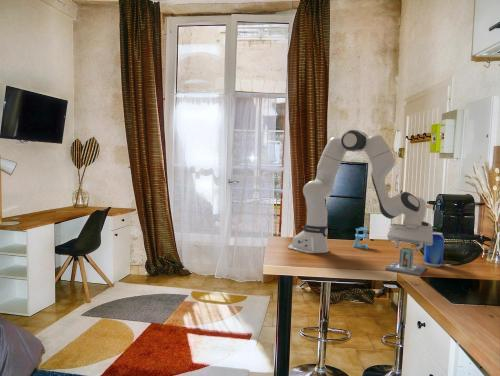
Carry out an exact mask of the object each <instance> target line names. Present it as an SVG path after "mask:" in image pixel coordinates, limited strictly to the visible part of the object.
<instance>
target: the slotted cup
mask: <svg viewBox="0 0 500 376" xmlns="http://www.w3.org/2000/svg"><path fill="white" fill-rule="evenodd" d="M399 250H400V251H399V261H398V262H399V267H402V268H408V269H411V268H412V267H413V264H414V254H415V253H414V252H415V251H414V250H415V249H414V248H409V247H401V248H399ZM406 254H408V260H407V261H408V262H407V266H403V260H404V259H405V255H406Z"/></svg>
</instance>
